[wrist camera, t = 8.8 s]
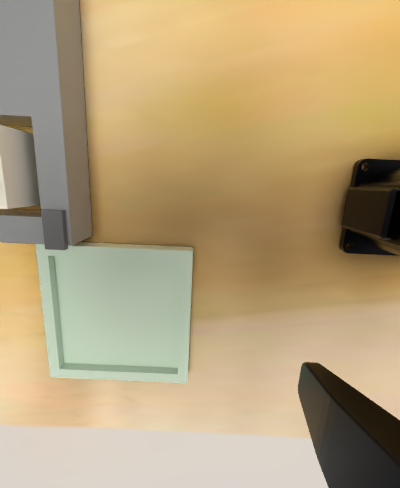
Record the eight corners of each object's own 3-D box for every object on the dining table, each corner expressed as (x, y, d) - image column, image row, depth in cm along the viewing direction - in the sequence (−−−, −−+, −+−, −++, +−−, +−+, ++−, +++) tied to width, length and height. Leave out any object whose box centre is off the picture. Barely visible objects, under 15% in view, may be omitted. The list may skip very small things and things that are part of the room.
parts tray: (193, 247, 19) (192, 251, 17) (188, 372, 21) (187, 383, 20) (45, 240, 18) (35, 244, 17) (58, 366, 21) (50, 377, 20)
